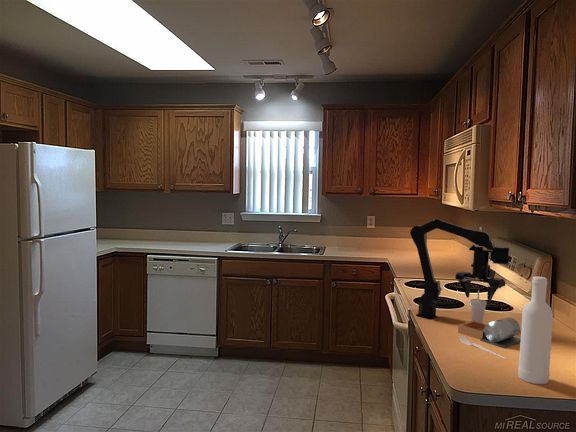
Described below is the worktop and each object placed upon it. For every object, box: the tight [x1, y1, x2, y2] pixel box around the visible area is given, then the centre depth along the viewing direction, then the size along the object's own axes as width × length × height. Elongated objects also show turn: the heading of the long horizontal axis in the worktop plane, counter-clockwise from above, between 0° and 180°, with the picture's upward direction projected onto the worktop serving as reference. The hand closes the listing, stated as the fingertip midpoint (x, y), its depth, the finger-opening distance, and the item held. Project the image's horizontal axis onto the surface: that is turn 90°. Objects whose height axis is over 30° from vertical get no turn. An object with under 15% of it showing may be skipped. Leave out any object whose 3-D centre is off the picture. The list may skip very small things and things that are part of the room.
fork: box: [458, 334, 508, 360], centre depth 157 cm, size 3×20×2 cm, turn 25°
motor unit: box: [457, 316, 521, 349], centre depth 169 cm, size 19×13×8 cm
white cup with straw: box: [469, 289, 488, 323], centre depth 186 cm, size 6×6×14 cm
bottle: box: [517, 275, 554, 385], centre depth 132 cm, size 8×8×30 cm
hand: (478, 300), depth 185 cm, fingers open, 9 cm apart
